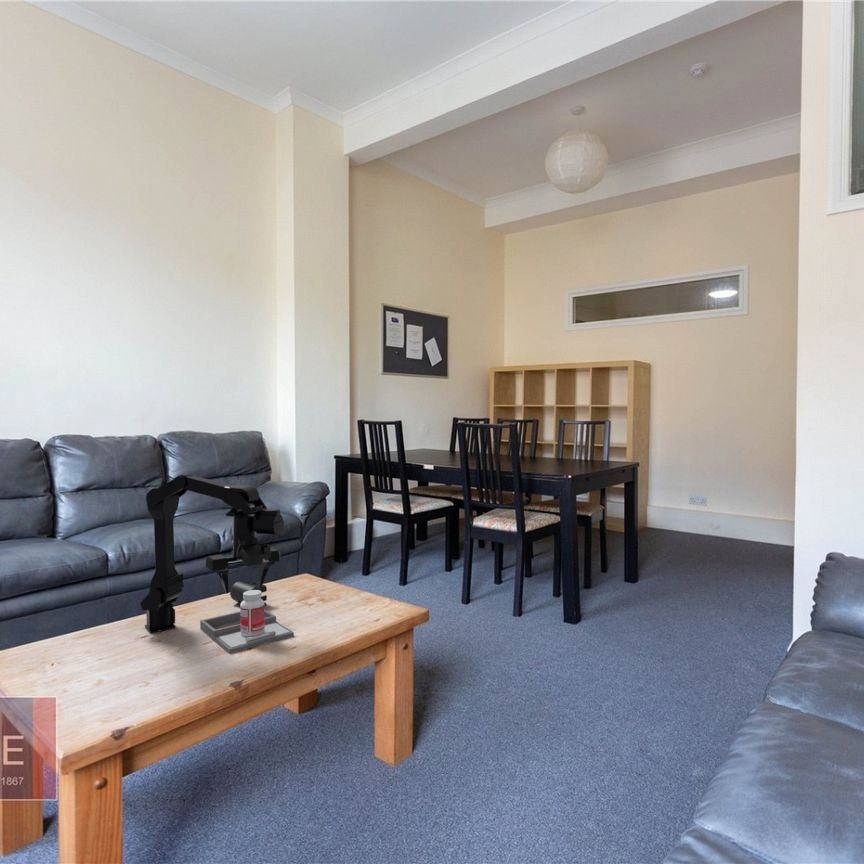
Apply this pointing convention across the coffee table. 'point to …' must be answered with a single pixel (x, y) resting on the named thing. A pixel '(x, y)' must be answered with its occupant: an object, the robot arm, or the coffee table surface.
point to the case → (209, 623)
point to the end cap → (241, 587)
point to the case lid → (237, 641)
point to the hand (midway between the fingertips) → (243, 590)
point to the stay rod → (260, 636)
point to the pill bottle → (252, 614)
